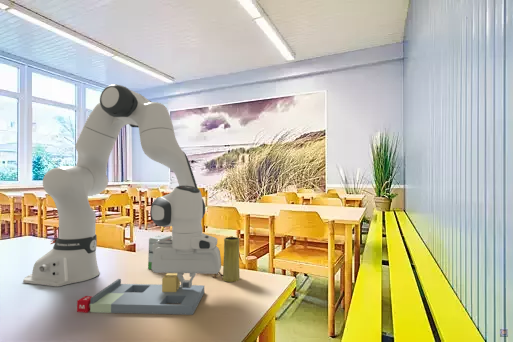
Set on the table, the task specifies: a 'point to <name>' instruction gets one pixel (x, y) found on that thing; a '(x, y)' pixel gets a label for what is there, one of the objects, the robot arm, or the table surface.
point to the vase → (231, 259)
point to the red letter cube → (84, 304)
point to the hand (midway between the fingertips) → (186, 287)
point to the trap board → (146, 299)
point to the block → (170, 282)
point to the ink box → (151, 242)
